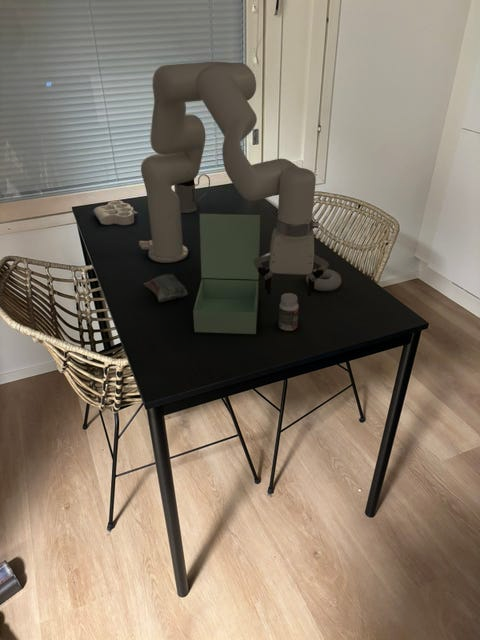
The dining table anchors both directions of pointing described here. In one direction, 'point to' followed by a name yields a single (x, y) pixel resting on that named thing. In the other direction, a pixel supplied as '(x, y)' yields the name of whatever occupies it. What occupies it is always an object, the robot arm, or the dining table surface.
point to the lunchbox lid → (229, 246)
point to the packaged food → (166, 287)
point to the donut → (327, 281)
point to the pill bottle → (288, 312)
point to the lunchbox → (226, 306)
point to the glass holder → (188, 195)
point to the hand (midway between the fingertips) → (288, 292)
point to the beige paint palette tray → (115, 213)
